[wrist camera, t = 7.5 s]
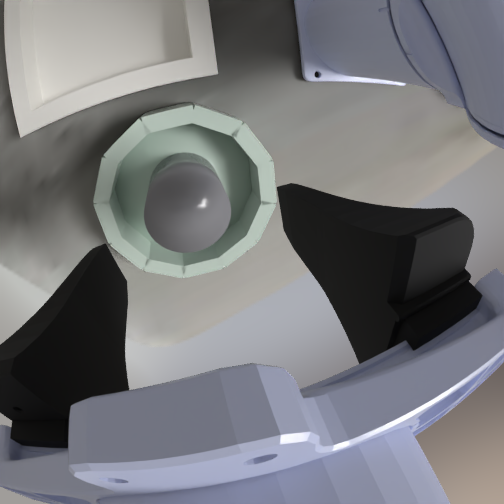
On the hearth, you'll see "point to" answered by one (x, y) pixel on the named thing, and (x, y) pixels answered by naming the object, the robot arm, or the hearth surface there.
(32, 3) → the parts tray
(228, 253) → the sage bowl
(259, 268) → the hearth surface
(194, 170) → the grey short cylinder
